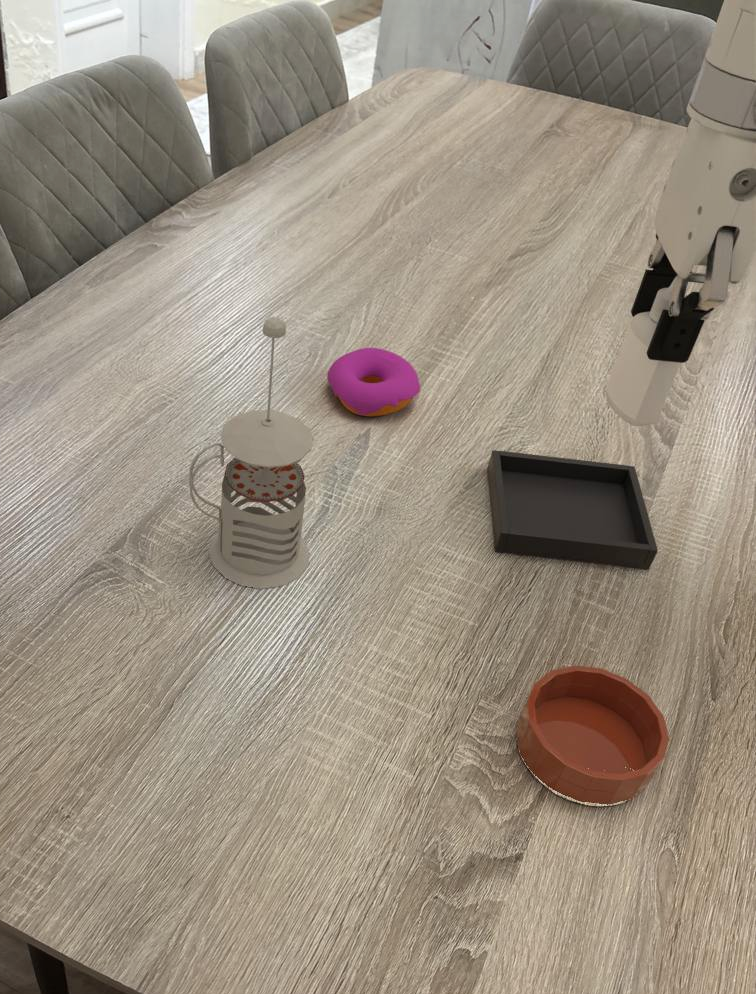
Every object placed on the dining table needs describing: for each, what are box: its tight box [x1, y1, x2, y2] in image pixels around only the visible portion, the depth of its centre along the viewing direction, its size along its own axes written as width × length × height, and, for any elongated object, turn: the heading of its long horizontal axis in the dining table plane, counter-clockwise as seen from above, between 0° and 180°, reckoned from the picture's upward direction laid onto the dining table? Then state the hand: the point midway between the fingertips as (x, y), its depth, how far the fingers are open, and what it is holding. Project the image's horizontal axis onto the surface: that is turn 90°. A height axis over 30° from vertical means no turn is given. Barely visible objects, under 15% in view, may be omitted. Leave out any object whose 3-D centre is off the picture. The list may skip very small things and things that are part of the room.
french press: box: [188, 316, 314, 590], centre depth 82 cm, size 10×12×25 cm
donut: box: [326, 347, 421, 417], centre depth 110 cm, size 10×10×5 cm
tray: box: [486, 449, 659, 570], centre depth 98 cm, size 16×14×3 cm
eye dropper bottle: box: [605, 276, 688, 427], centre depth 77 cm, size 4×6×12 cm
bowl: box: [515, 665, 670, 805], centre depth 76 cm, size 11×11×4 cm
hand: (658, 336), depth 76 cm, fingers closed on eye dropper bottle, 5 cm apart
